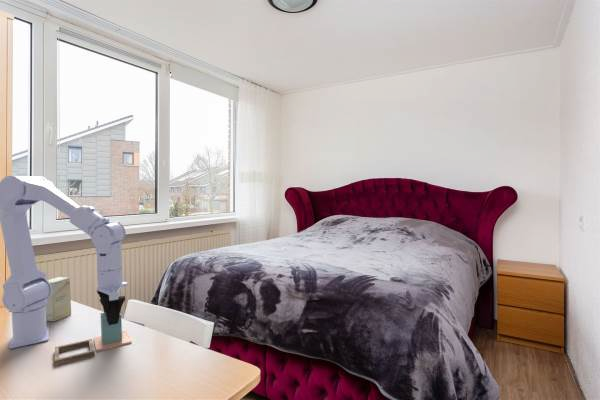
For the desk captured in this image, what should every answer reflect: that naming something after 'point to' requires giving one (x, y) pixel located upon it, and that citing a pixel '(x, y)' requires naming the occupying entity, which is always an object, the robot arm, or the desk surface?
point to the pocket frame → (77, 356)
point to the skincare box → (59, 299)
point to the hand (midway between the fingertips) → (111, 319)
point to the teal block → (110, 330)
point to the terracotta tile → (100, 346)
